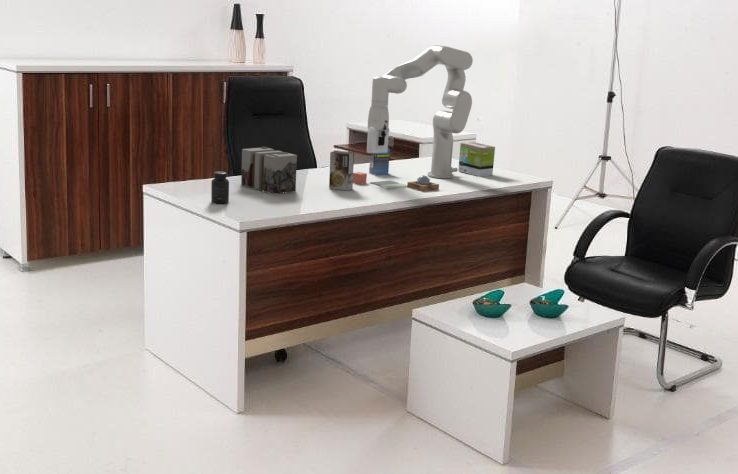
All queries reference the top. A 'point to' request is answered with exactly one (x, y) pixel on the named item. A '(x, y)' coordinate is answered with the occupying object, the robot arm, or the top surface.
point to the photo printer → (376, 141)
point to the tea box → (476, 159)
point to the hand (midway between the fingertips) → (377, 144)
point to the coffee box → (341, 170)
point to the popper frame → (423, 186)
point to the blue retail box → (379, 163)
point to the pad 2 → (394, 185)
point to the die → (359, 178)
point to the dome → (423, 180)
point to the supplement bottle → (220, 188)
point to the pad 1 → (383, 182)
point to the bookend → (269, 170)
